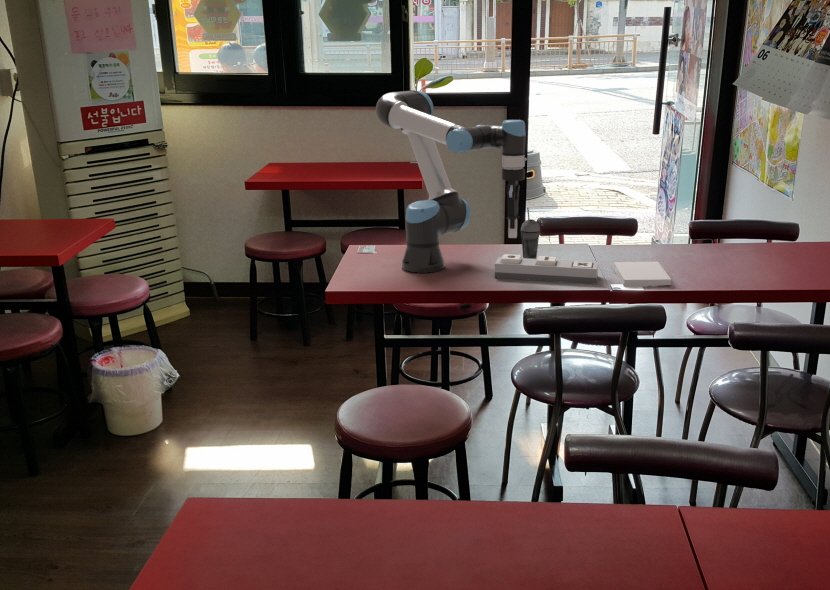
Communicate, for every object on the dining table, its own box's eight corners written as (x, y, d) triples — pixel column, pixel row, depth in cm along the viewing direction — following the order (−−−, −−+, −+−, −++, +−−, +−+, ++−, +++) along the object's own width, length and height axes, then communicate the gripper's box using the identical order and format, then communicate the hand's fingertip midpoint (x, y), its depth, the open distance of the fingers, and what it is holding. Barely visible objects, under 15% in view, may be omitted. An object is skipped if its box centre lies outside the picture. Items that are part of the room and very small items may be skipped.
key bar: (536, 267, 273) (536, 260, 272) (538, 262, 278) (538, 255, 277) (554, 268, 271) (554, 261, 270) (556, 263, 277) (556, 256, 276)
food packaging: (670, 289, 263) (657, 270, 282) (671, 279, 262) (657, 261, 281) (623, 289, 264) (613, 271, 283) (624, 279, 263) (613, 262, 282)
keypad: (494, 277, 276) (494, 263, 274) (498, 270, 284) (498, 256, 283) (596, 283, 268) (597, 269, 266) (597, 276, 276) (598, 262, 274)
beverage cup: (540, 264, 292) (542, 209, 286) (520, 264, 292) (522, 209, 286) (538, 258, 299) (540, 205, 293) (518, 259, 299) (519, 205, 293)
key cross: (572, 273, 270) (572, 265, 269) (573, 268, 276) (574, 261, 275) (590, 274, 269) (591, 266, 268) (591, 269, 274) (592, 262, 273)
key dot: (501, 265, 276) (501, 258, 275) (503, 261, 281) (504, 253, 280) (518, 266, 274) (518, 259, 273) (521, 262, 280) (521, 254, 279)
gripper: (522, 170, 261) (521, 242, 268) (527, 165, 273) (526, 233, 280) (499, 170, 263) (498, 241, 270) (505, 164, 275) (504, 232, 282)
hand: (512, 237), depth 275 cm, fingers closed
